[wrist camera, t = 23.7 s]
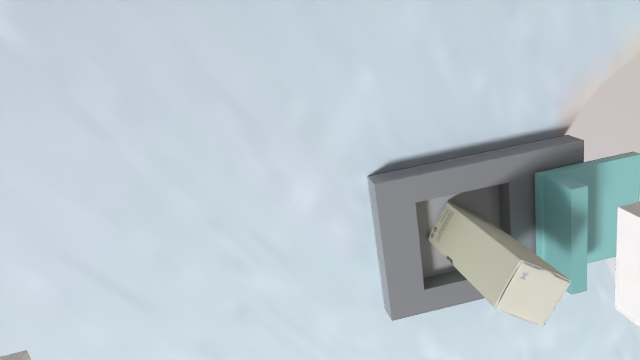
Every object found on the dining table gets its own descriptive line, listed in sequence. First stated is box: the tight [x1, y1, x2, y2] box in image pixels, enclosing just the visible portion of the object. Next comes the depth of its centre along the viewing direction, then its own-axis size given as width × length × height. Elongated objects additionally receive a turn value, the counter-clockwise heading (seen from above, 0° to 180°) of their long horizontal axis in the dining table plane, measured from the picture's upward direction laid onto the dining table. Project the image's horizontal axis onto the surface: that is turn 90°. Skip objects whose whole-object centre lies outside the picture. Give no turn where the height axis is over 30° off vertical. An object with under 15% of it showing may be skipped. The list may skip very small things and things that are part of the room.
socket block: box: [367, 135, 584, 321], centre depth 50 cm, size 20×14×2 cm
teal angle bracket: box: [535, 152, 640, 294], centre depth 48 cm, size 10×10×5 cm
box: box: [428, 202, 571, 326], centre depth 45 cm, size 5×4×13 cm
